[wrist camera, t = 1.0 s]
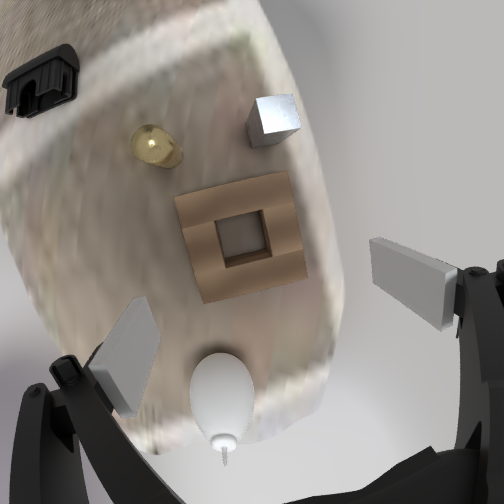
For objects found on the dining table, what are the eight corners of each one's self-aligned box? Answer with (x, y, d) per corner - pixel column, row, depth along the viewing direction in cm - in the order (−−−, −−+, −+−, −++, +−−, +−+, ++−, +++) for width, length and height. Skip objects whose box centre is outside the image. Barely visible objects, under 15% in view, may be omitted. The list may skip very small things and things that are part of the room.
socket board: (179, 195, 31) (173, 197, 28) (279, 172, 32) (287, 170, 28) (205, 291, 34) (203, 304, 31) (298, 267, 35) (308, 277, 31)
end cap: (82, 54, 25) (61, 35, 18) (80, 97, 27) (55, 83, 20) (29, 79, 24) (4, 67, 18) (26, 120, 26) (-2, 113, 19)
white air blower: (248, 381, 38) (266, 481, 21) (196, 382, 38) (189, 483, 20) (248, 338, 37) (270, 441, 19) (190, 339, 36) (176, 444, 18)
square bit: (245, 123, 30) (256, 98, 21) (272, 118, 30) (292, 93, 21) (251, 148, 31) (264, 133, 21) (278, 143, 31) (301, 127, 22)
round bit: (154, 146, 30) (127, 131, 20) (180, 138, 30) (163, 119, 20) (159, 171, 30) (134, 166, 21) (185, 164, 31) (170, 155, 21)
